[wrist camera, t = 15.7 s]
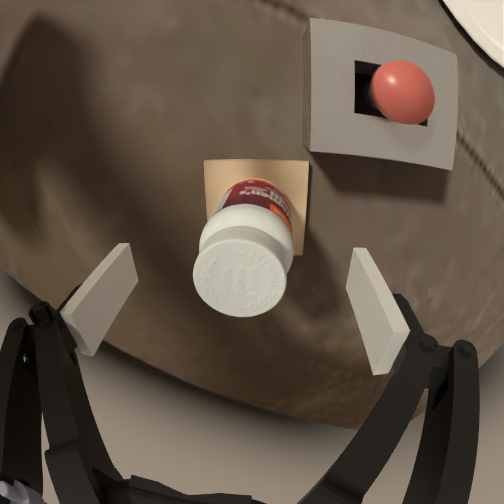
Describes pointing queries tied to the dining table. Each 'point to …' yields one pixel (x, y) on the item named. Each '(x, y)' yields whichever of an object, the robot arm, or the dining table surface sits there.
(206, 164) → the cork pad
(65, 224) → the dining table surface
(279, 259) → the pill bottle
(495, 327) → the dining table surface
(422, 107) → the lever
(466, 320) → the dining table surface
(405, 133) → the grey boxy piece
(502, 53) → the plate
